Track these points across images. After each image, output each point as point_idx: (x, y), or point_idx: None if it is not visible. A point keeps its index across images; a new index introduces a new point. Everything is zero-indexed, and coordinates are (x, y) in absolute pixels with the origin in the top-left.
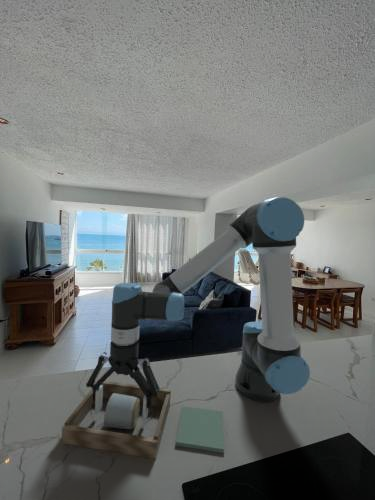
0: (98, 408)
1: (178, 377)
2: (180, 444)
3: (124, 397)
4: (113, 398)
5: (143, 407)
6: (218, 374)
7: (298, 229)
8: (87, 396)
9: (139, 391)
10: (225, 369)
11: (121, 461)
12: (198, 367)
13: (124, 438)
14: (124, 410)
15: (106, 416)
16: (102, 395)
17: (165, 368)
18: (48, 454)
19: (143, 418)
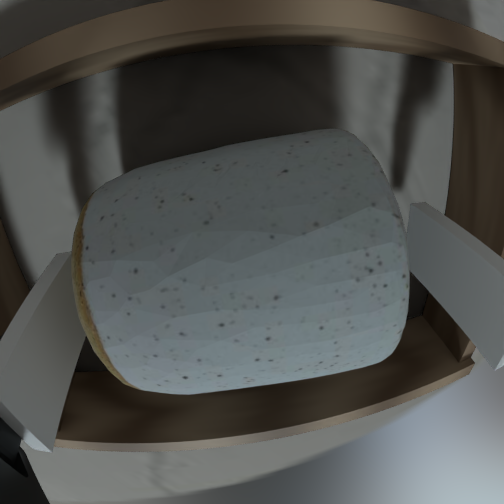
0: (427, 229)
1: (138, 467)
2: None
3: (249, 366)
4: (369, 312)
5: (25, 321)
6: (45, 472)
7: None
8: None
9: (217, 417)
10: (45, 480)
11: (98, 7)
12: (110, 488)
13: (66, 31)
14: (166, 234)
15: (343, 142)
16: (449, 310)
17: (208, 480)
18: (471, 3)
19: (57, 264)
